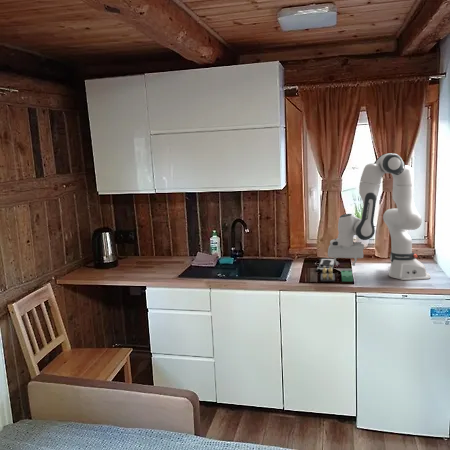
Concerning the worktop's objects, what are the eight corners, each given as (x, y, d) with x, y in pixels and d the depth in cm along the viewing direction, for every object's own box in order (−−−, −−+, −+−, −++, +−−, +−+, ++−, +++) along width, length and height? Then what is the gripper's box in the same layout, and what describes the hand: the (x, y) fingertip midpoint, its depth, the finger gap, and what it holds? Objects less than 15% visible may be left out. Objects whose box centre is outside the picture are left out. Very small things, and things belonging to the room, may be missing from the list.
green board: (351, 274, 277) (351, 270, 277) (352, 281, 264) (352, 277, 263) (341, 274, 278) (341, 270, 278) (342, 281, 265) (342, 277, 265)
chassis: (334, 274, 279) (334, 266, 278) (334, 281, 266) (334, 272, 265) (320, 274, 281) (320, 266, 280) (320, 281, 268) (320, 272, 267)
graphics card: (334, 258, 307) (330, 268, 284) (335, 263, 308) (330, 273, 284) (319, 258, 310) (314, 267, 287) (319, 263, 311) (314, 272, 288)
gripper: (363, 241, 269) (363, 264, 271) (327, 240, 273) (327, 263, 275) (364, 243, 263) (364, 266, 265) (327, 242, 267) (327, 265, 269)
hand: (345, 265), depth 270 cm, fingers open, 8 cm apart
